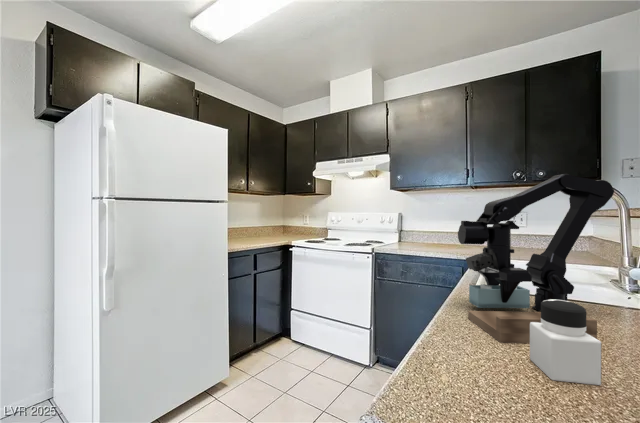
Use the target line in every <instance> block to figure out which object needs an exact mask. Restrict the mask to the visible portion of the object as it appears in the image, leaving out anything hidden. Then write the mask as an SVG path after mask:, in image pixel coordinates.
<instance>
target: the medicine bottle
mask: <svg viewBox="0 0 640 423" xmlns="http://www.w3.org/2000/svg"><path fill="white" fill-rule="evenodd" d="M586 318H587V309H586V308H585V307H584V306H582V305H580V304H578V303H575V302H572V301H569V300H567V301H564V300H556V299H550V300H545V301H543V302H541V323H538V322H530V343H529V359H530V361H531V362H532V363H533V364H535V366H537V368H538V369H540V370H541V371H542V372H543V373H544V374H545V375H546V377H549V379H550V380H552V381H557V382H567V383H574V384H575V383H576V384H583V385H584V384H585V385H593V386H601V385H602V341H601V340H599V339H598V338H597V339H596V338H594V337H592V336H591V335H589V334H587V333H585V331H586Z"/></svg>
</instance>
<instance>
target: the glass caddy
mask: <svg viewBox="0 0 640 423" xmlns="http://www.w3.org/2000/svg"><path fill="white" fill-rule="evenodd" d="M468 288H469V290H468V291H469V292H468V294H469V295H468V296H469V300H468V301H469V302H468V303H470V304H472V305H473V306H475V307H476V308H482V309H487V308H488V309H530V308H531V302H530V301H531V298H530V297H531V292H530V291H531V290H530V289H528V288H526V287H523V286H520V285H518V286H517V287H516V289H515V290H514V292H513V293H512V295H511V296H510V298H509V300H508V301H507V303H503V302H502V299H501V291H500V284H499V285H487V283H486V284H485V283H484V284H483V283H482V284H469V285H468Z"/></svg>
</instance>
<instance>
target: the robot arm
mask: <svg viewBox="0 0 640 423" xmlns="http://www.w3.org/2000/svg"><path fill="white" fill-rule="evenodd" d="M558 192H561V193H562V194H564V195H566V196H569V198H568V199H569V200H568V201H569V209H568V211H567V212H566V214H565V216H564V218H563V220H562V221H561V222H560V224H559V227H558V228H557V229H556V232H554V235H553V237H552V239H551V240H550V242H549V243H548V245H547V247H546V249H545V250H544V251H543V252H541V253H540V254H538V253H532V254H531V255H530V256H531V257H530V258H529V261H528V262H527V263H525V266H526V269H524V268H520V267H515V264H514V263H511V262H512V261H511V260H512V259H511V256H512V255H511V254H515V249H513V248H511V241H512V239H511V234H512V233H511V231H512V230H519V229H520V226H519V225H517V224H516V223H514V220H512V219H513V218H515V217H516V216H517V215H519V214H521V212H522V211H523V210H524V209H525V208H527V207H528V206H530V205H533V204H535V203H537V202H539V201H541V200H544V199H546V198H548V197H550V196H552V195H555V194H556V193H558ZM614 193H615V189H614V188H613V185H612V184H611V182H610V181H608V180H604V179H597V180H596V179H594V178H593V179H592V178H587V177H579V176H575V175H572V174H568V173H562V174H558V175H557V174H556V175H553V176H551V177H550V178H549V179H546V180H545V181H543V182H540V183H538V184H536V185H532V187H529V188H526V189H525V190H523V191H521V192H519V193H516V194H515V195H512V196H507V197H503V198H500V199H495V200H492V201H489V202H487V203H486V204H485V206H484V207H483V208H484V209H483V212H482V214H480V216H478V218H477V219H476V221H474V220H473V221H470V220H460V221H461V222H460V225H459V227H458V231H457V239H458V243H459V244H461V245H484V244H485V243H486V246H484V247H483V248H482V252H481V253H477V254H474V255H471V256H468V257H466V258H465V262H466V265H467V268H468V269H469V270H472V271H474V272H477V273H478V274H479V275H481V276H482V277H483V279H484V280H485V283H486V285H500V291H501V299H502V302H503V303H507V301H508V300H509V298H510V296H511V295H512V293H513V292H514V290H515V289H516V287H517V286H520V285H519V284H520V283H523V282H525V283H526V282H528V283H529V282H531V284H532V286H534V287H536V289H535V290H536V292H535V293H534V305H532V307H531V308H532V309H534V310H536V311H537V312H541V302H543V301H545V300H550V299H556V300H564V301H568V295H572V294H573V292H574V289H575V286H574V284H572V283H571V282H570V281H569V280H568V279H566V277H565V275H566V273H567V263H566V261H567V259H568V258H567V257H568V256H569V254H570V253H571V251H572V249H573V247H574V246H575V244H576V242H577V240H578V239H579V237H580V235H581V234H582V232H583V231H584V229H585V227H586V225H587V223H588V222H589V220H590V218H591V216H592V215H593V214H594V213H595V212H597V211H599V210H600V209H601V208H603V207H604V206H606V204H607V203H608V202H609V201H610V200H611V199H612V198H613V196H614ZM488 225H489V226H488ZM490 225H492V226H490Z"/></svg>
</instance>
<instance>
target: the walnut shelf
mask: <svg viewBox="0 0 640 423" xmlns="http://www.w3.org/2000/svg"><path fill="white" fill-rule="evenodd" d="M467 319H468V320H470V322H472V323H474V324H475V325H476V326H478V327H479V328H480V329H481V330H483V331H484V332H486V333H487V334H488V335H490V336H491V337H492V338H493V339H495V340H496V341H498V342H499V343H503V344H504V343H505V344H506V343H507V344H530V322H538V323H541V312H540V311H516V310H515V311H511V310H509V311H507V310H505V311H503V310H501V311H500V310H499V311H498V310H497V311H496V310H495V311H494V310H468V311H467ZM585 333H587V334H589V335H591V336H592V337H594V338H596V339H598V320H597V319H594V318H592V317H586V331H585Z"/></svg>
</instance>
